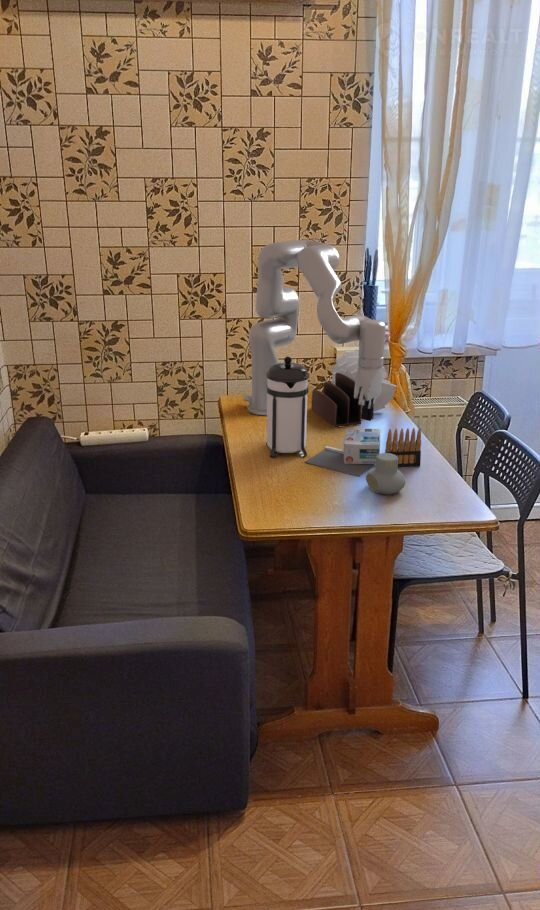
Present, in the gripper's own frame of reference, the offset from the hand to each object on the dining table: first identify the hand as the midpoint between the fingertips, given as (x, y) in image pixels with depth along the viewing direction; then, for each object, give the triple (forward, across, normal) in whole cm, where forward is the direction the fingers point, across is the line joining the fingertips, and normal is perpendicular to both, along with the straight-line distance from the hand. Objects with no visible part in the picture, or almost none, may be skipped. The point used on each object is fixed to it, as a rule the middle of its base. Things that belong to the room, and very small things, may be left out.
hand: (367, 419), depth 238 cm
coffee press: (+9, +17, -19) cm, 27 cm away
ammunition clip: (+9, +8, +16) cm, 20 cm away
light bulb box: (+4, +5, +2) cm, 7 cm away
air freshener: (+9, +26, +19) cm, 34 cm away
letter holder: (+10, -18, -21) cm, 30 cm away
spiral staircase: (+9, -36, -20) cm, 42 cm away
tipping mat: (+9, +16, 0) cm, 19 cm away
